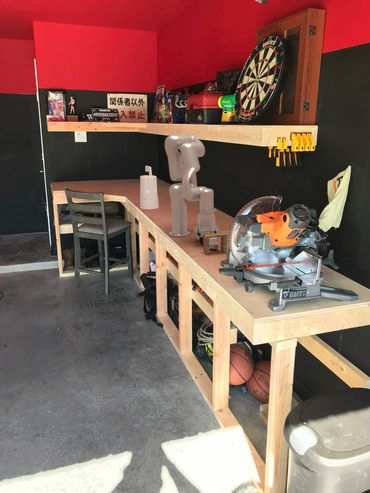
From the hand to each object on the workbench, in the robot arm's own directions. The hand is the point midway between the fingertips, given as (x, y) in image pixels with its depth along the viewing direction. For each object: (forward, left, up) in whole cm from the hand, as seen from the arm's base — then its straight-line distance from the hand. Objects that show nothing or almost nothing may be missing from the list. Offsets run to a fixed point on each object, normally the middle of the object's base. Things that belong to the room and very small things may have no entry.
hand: (206, 242), depth 240 cm
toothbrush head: (0, 0, -1) cm, 1 cm away
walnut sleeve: (+14, 0, -2) cm, 14 cm away
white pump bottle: (-119, -9, -2) cm, 119 cm away
